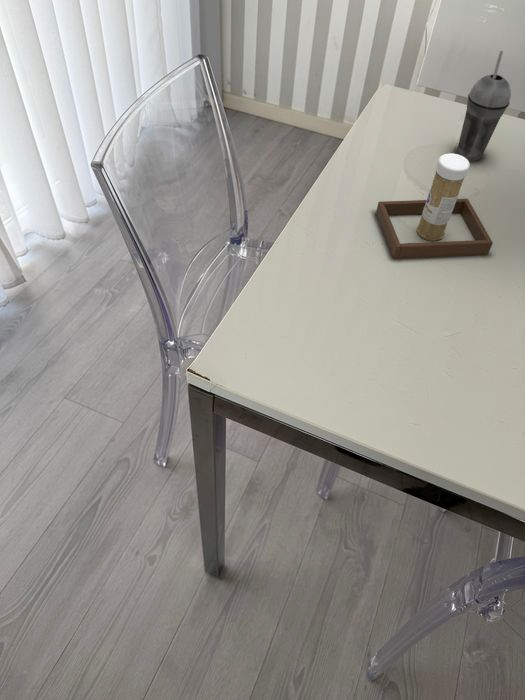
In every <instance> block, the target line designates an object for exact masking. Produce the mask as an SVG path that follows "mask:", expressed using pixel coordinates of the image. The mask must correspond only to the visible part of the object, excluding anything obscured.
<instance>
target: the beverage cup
mask: <svg viewBox="0 0 525 700" xmlns="http://www.w3.org/2000/svg"><path fill="white" fill-rule="evenodd" d="M503 53H504V50H499V53H498V57H497V60H496V64H495V68H494V71H493V74H486V75H485V76H483V77H481V78H480V79H478V80H477V81H476V82H475V83H474V85H473V87H472V88H471V89H470V91H469V93H468V95H467V102H466V103H467V104H466V111H465V115H464V119H463V124H462V128H461V132H460V136H459V141H458V143H457V144H458V145H457V149H456V150H457V151H456V154H458V155H461V156H463V157H465V158H466V159H467V160H468V161H469V162H472V161H473V162H475V161H479V160H480V159H481V158H482V156H483V155H484V153H485V151H486V149H487V147H488V144H489V143H490V141H491V138H492V136H493V134H494V132H495V130H496V128H497V126H498V124H499V122H500V120H501V118H502V116H503V115H504V114H505V111H506V110H507V108H508V107H509V106H510V100H511V97H512V92H511V86H510V83H509V82H508V80H507V79H506V78H505V77H503V76H502V75H500V74H498V71H499V68H500V64H501V60H502V58H503V57H502V56H503Z"/></svg>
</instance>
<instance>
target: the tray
mask: <svg viewBox="0 0 525 700" xmlns="http://www.w3.org/2000/svg"><path fill="white" fill-rule="evenodd" d="M426 201H427V199H416V200H415V199H414V200H386V201H385V200H383V201H378V203H377V207H376V209H375V215H376V219H377V221H378V224H379V226H380V228H381V231H382V233H383V236H384V239H385V241H386V244H387V246H388V249H389V251H390V255H391V257H392V259H393V260H397V259H400V260H401V259H420V258H421V259H422V258H442V257H443V258H445V257H462V256H463V257H465V256H466V257H467V256H486V255H489V252H490V250H491V248H492V246H493V244H494V242H493V240H492V239H491V237H490V235H489V233H488V231H487V230H486V228H485V226H484V224H483V223H482V221H481V219H480V217H479V216H478V214H477V212H476V210H475V209H474V207H473V205H472V203H471V201H470V200H469V198H457V200H456V203H455V206H454V208H453V211H452V214H460V215H461V217H462V219H463V221H464V222H465V224H466V226H467V228H468V230H469V231H470V233H471V235H472V237H473V239H474V240H455V241H453V240H452V241H431V242H429V241H428V242H427V241H426V242H407V243H406V242H405V243H402V242H401V241H400V240H399V237H398V235H397V233H396V230H395V228H394V225H393V222H392V220H391V218H390V217H393V216H395V217H396V216H419V215H421V216H422V213H423V210H424V207H425V204H426Z"/></svg>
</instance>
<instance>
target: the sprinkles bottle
mask: <svg viewBox="0 0 525 700" xmlns="http://www.w3.org/2000/svg"><path fill="white" fill-rule="evenodd" d="M470 166H471V165H470V160H467V159H466V158H465V157H463V156H461V155H458V154H457V153H453V152H451V153H450V152H449V153H444V154H442V155H440V157H439V158H438V161H437V163H436V166H435V174H434V177H433V180H432V184H431V187H430V189H429V192H428V195H427V198H426V200H427V201H426V204H425V207H424V210H423V213H422V215H421V217H420V219H419V223H418V225H417V227H416V233H417V234H418V236H419V237H420V238H421V239H424V240H427V241H431V242H436V241H440V240H441V239H443V238H444V236H445V231H446V229H447V225H448V223H449V222H450V219H451V217H452V215H453V213H452V211H453V208H454V206H455V203H456V200H457V199H459V198H458V196H459V194H460V191H461V188H462V185H463V182H464V180H465V178H466V177H467V175H468V172H469V170H470Z"/></svg>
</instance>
